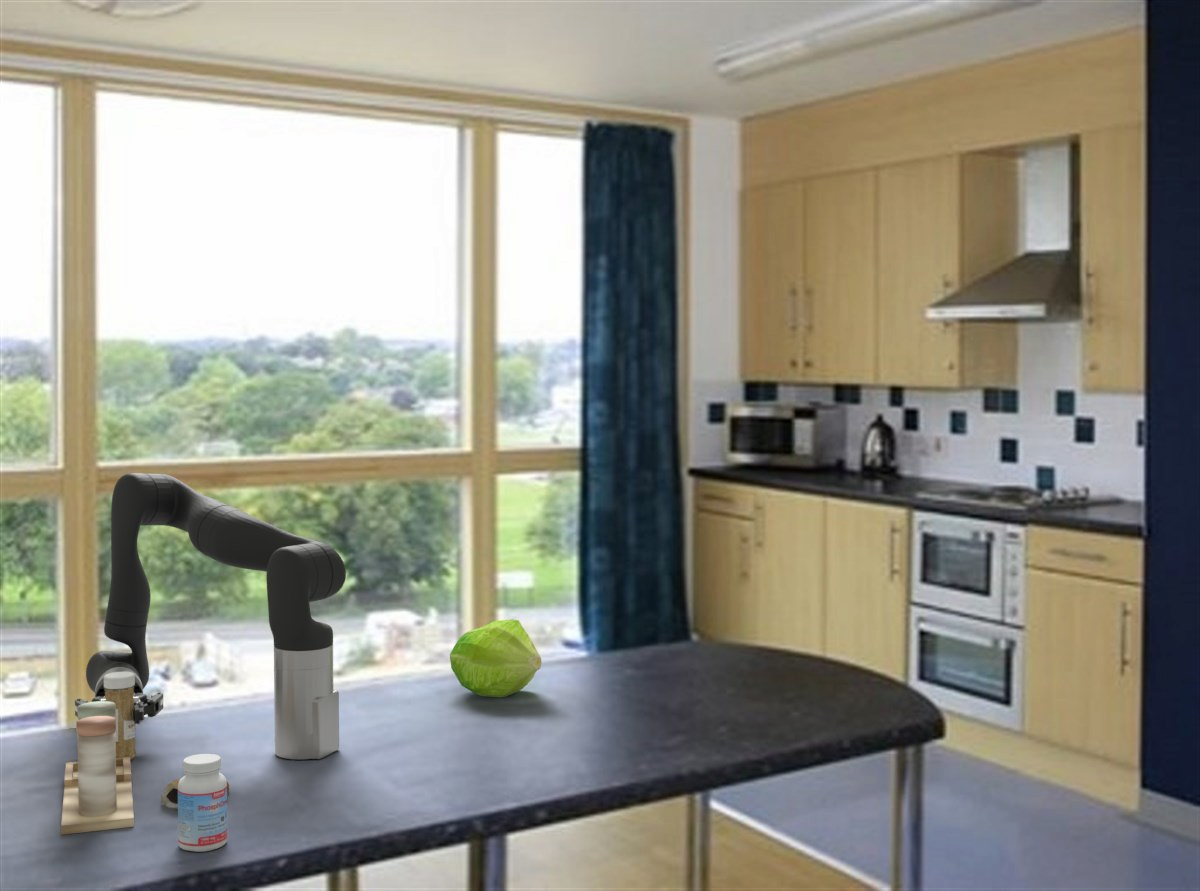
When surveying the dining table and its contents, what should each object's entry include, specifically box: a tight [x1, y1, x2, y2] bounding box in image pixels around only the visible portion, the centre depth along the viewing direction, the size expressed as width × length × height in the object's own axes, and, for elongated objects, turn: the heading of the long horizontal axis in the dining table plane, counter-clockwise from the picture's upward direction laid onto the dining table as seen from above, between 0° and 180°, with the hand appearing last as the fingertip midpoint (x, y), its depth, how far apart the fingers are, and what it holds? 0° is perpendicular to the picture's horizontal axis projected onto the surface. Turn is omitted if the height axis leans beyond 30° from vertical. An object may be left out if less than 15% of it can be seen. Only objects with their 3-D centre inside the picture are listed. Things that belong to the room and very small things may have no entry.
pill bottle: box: [177, 753, 228, 853], centre depth 170 cm, size 6×6×11 cm
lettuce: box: [449, 618, 542, 698], centre depth 248 cm, size 15×20×14 cm
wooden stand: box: [60, 701, 135, 835], centre depth 187 cm, size 26×9×14 cm, turn 21°
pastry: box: [161, 779, 230, 810], centre depth 188 cm, size 9×7×4 cm
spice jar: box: [104, 672, 137, 761], centre depth 207 cm, size 5×5×13 cm
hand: (120, 718), depth 204 cm, fingers closed on spice jar, 4 cm apart
